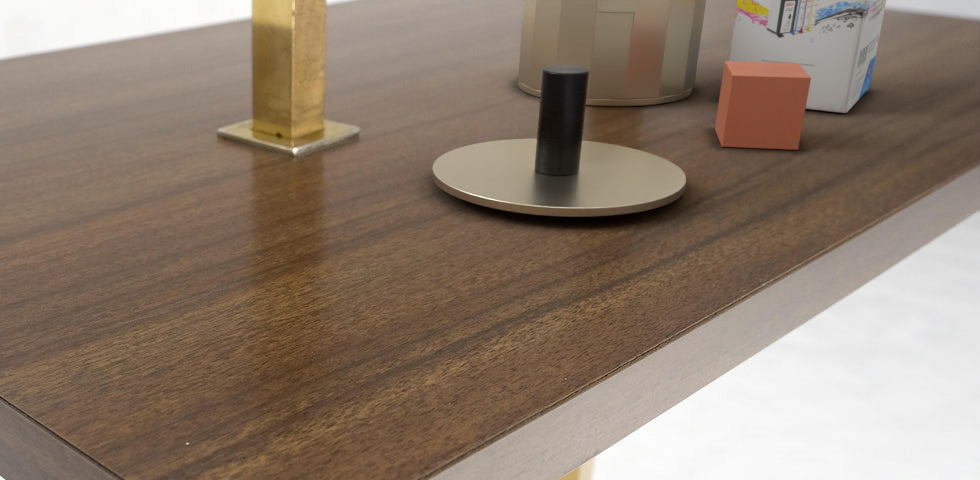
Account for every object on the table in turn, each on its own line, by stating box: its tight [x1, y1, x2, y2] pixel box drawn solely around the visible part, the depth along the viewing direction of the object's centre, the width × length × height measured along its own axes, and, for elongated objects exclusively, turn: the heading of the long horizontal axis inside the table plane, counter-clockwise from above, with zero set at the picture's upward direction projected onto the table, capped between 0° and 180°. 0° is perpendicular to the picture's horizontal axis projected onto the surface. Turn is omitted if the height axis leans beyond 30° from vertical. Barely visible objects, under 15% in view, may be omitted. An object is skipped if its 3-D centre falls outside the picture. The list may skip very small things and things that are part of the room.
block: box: [714, 60, 811, 151], centre depth 73 cm, size 4×4×4 cm
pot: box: [517, 0, 707, 107], centre depth 86 cm, size 13×18×8 cm
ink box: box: [727, 0, 887, 114], centre depth 82 cm, size 9×8×12 cm
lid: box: [431, 65, 687, 218], centre depth 63 cm, size 14×14×7 cm
